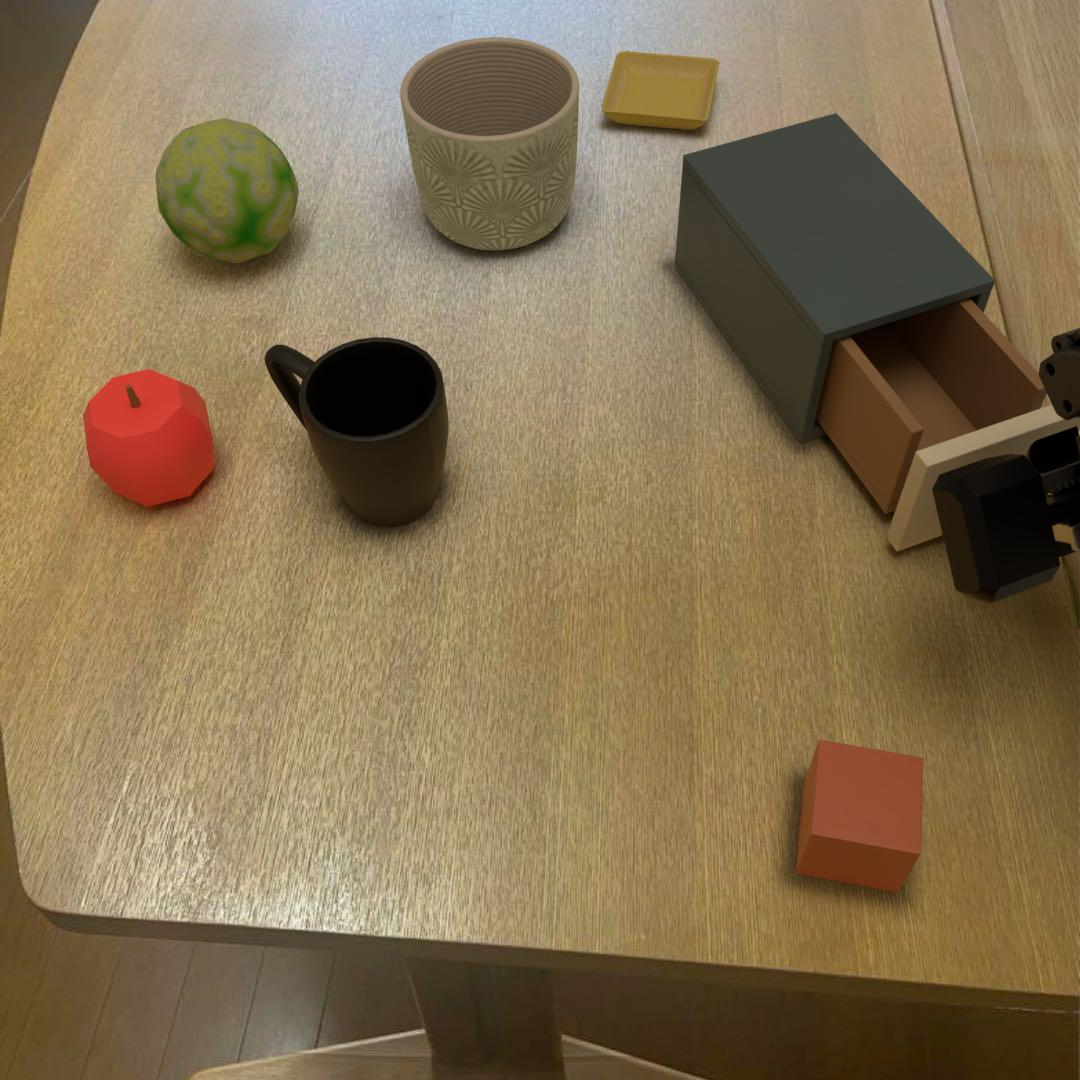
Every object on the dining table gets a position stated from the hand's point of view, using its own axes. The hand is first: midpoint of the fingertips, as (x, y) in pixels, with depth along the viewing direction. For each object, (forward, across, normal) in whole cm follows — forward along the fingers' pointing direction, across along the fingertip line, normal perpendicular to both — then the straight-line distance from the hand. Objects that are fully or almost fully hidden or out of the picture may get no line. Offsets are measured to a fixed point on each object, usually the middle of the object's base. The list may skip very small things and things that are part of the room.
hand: (1013, 472), depth 65 cm
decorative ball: (+37, +34, -26) cm, 57 cm away
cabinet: (+20, 0, -10) cm, 22 cm away
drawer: (+10, 0, -1) cm, 10 cm away
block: (-4, +16, +14) cm, 22 cm away
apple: (+23, +44, -12) cm, 51 cm away
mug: (+19, +32, -8) cm, 38 cm away
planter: (+34, +15, -24) cm, 44 cm away
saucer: (+40, -2, -29) cm, 49 cm away
